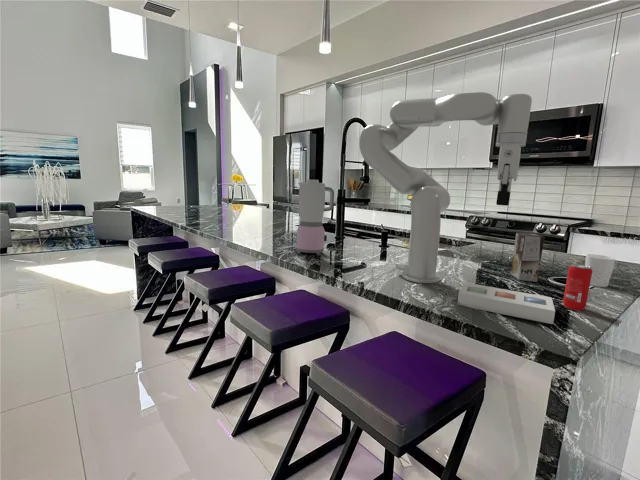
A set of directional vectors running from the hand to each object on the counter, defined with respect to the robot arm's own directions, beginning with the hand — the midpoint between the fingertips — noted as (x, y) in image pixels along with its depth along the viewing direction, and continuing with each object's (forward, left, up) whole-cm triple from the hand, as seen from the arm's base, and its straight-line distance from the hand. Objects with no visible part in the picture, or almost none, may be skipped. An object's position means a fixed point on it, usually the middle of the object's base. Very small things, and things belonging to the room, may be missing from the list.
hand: (502, 205), depth 102 cm
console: (+4, -12, -27) cm, 30 cm away
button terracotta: (+4, -12, -26) cm, 29 cm away
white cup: (+31, +35, -27) cm, 54 cm away
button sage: (-3, -12, -26) cm, 29 cm away
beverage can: (+21, 0, -27) cm, 34 cm away
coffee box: (+9, +28, -27) cm, 40 cm away
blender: (-72, +13, -27) cm, 78 cm away
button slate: (+11, -12, -26) cm, 31 cm away
